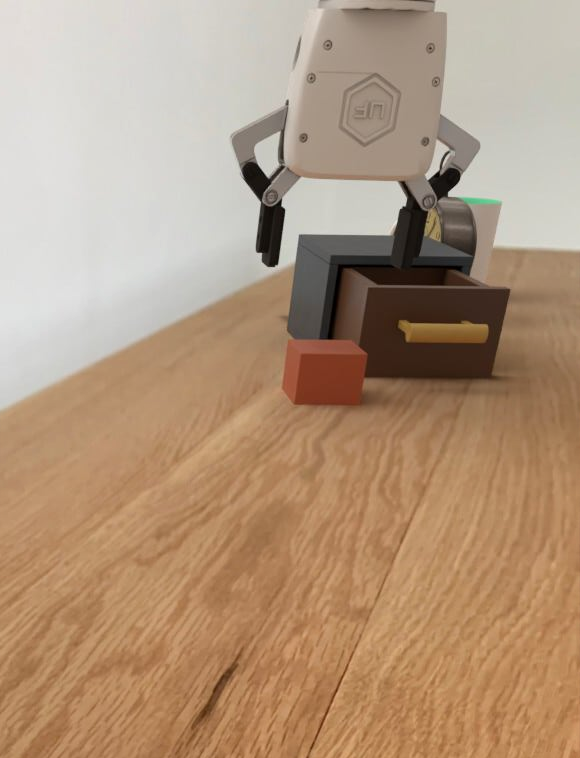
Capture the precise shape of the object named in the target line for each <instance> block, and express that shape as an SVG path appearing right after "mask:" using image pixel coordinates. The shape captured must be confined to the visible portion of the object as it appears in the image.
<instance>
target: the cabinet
mask: <svg viewBox="0 0 580 758" xmlns="http://www.w3.org/2000/svg"><path fill="white" fill-rule="evenodd" d="M394 237H395V235H389V234H386V235H385V234H383V235H382V234H312V233H311V234H309V233H308V234H306V233H304V234H303V233H302V234H301V233H299V234H298V239H297V247H296V254H295V261H294V269H293V277H292V286H291V287H292V288H291V294H290V302H289V310H288V320H287V326H286V331H287V332H288V333H289V334H290V335H291V336H292V337H293V338H294V339H297V340H328V338H329V332H330V325H331V318H332V311H333V304H334V297H335V290H336V284H337V277H338V270H339V266H340V265H347V266H393V265H391V264H390V259H391V253H392V248H393V242H394ZM472 262H473V256H471V255H469V254H466V253H464V252H462V251H459V250H457V249H455V248H452V247H450V246H448V245H446V244H443V243H441V242H439V241H436V240H434V239H432V238H429V237H427V236H423V241H422V246H421V251H420V254H419V256H418V258H413V261H412V266H427V267H451V268H453V269H455V270H457V271H459V272H461V273H463V274H465V275H468V276H470V272H471V266H472Z"/></svg>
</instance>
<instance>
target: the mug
mask: <svg viewBox="0 0 580 758" xmlns="http://www.w3.org/2000/svg"><path fill="white" fill-rule="evenodd" d="M456 197H457V198H460V199H462V200H463V201H465V202H466V203H467V204H468V206H469V207H470V209H471V210H472V213H473V215H474V218H475V222H476V230H477V245H476V253H475V258H474V262H473V265H472V268H471V272H470V277H472V278H474V279H476V280H478V281H480V282H482V283H484V284H486V280H487V276H488V271H489V267H490V262H491V258H492V253H493V247H494V243H495V239H496V233H497V230H498V229H497V228H498V225H499V219H500V215H501V209H502V204H503V201H502V200H498V199H493V198H483V197H471V196H469V197H468V196H456ZM397 220H398V218H397V219H396V220H395V222H394V223H393V225H392V226H391V228H390V230H389V232H388V235H393V234H394V231H395V228H396V226H397Z"/></svg>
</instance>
